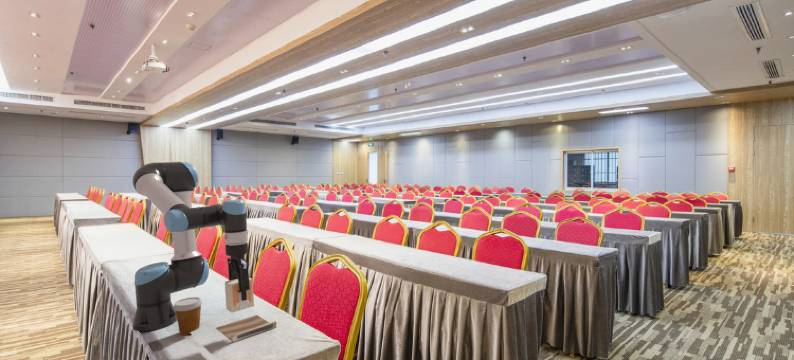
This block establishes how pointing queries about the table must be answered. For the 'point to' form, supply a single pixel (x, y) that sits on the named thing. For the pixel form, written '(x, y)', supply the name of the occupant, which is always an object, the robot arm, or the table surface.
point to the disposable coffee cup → (188, 314)
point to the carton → (237, 295)
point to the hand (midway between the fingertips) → (240, 306)
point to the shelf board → (246, 328)
